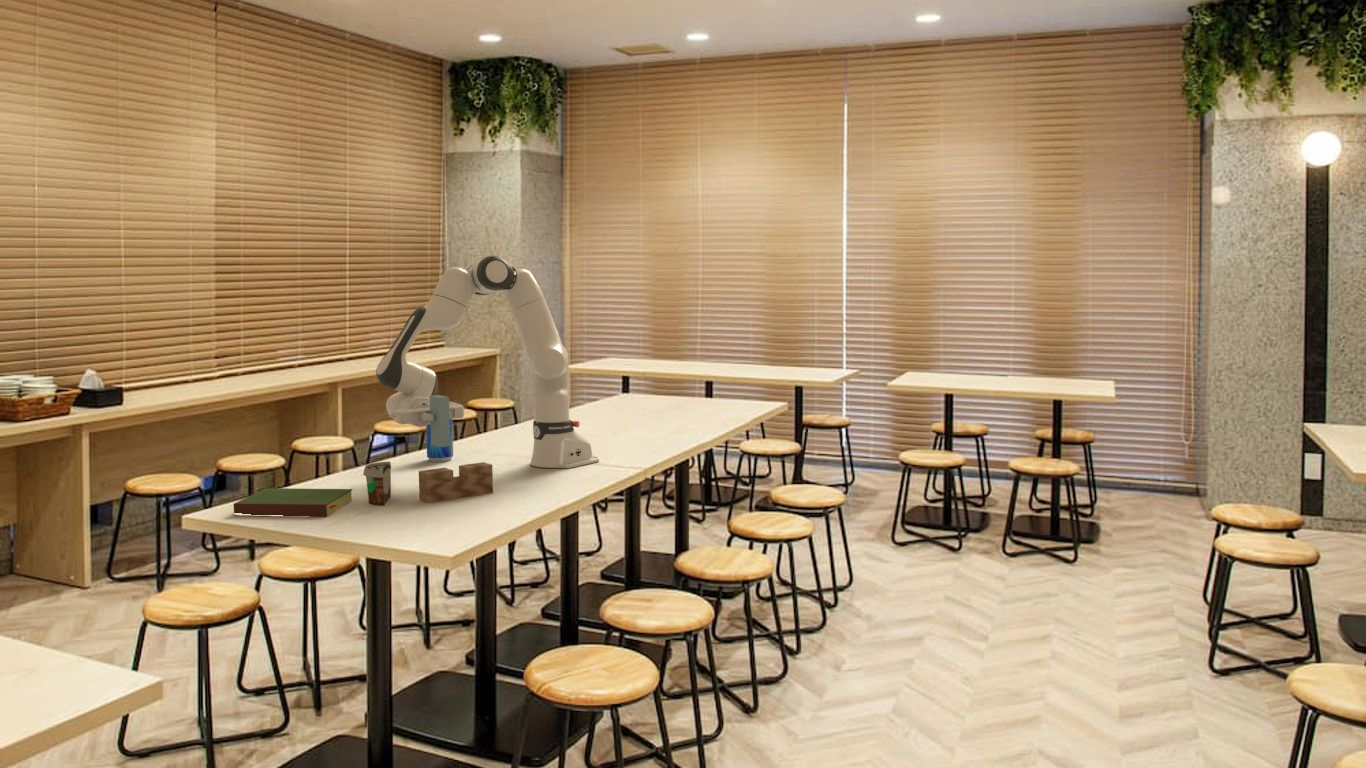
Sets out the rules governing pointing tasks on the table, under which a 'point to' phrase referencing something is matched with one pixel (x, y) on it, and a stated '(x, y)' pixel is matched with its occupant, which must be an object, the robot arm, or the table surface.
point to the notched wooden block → (455, 482)
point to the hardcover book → (294, 502)
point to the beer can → (439, 452)
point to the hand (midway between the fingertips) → (441, 416)
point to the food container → (378, 482)
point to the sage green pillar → (440, 421)
